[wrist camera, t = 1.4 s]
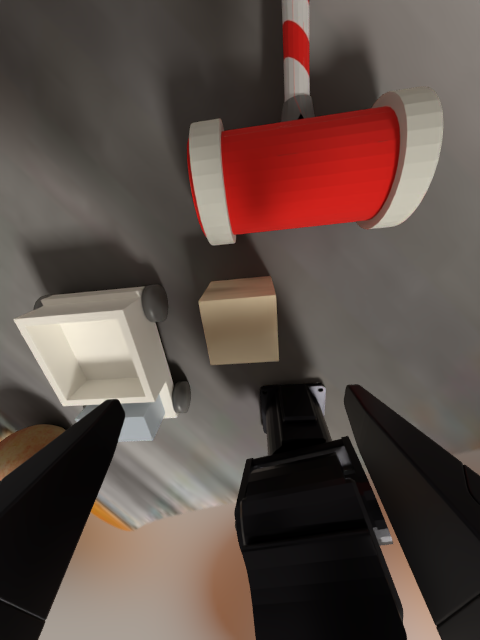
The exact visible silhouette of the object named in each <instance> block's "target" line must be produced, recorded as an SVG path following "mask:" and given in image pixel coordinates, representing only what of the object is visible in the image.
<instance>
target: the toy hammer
mask: <svg viewBox="0 0 480 640" xmlns="http://www.w3.org/2000/svg"><path fill="white" fill-rule="evenodd" d="M282 22H283V55H284V94H285V102H284V104H283V107H282V115H281V122H279V123H273V124H266V125H260V126H253V127H246V128H240V129H233V130H227V131H224V127H223V123H222V120H221V119H220V118H219V119H213V120H207V121H200V122H194V123H192V124H191V126H190V131H189V138H188V142H187V162H188V172H189V180H190V186H191V192H192V197H193V202H194V206H195V210H196V214H197V217H198V221H199V224H200V226H201V229H202V231H203V233H204V235H205V236H206V237H207V239H208V241H209V242H210V244H211V245H213V246H214V245H223V244H233V243H235V242H236V235H237V234H246V233H255V232H264V231H274V230H283V229H292V228H301V227H310V226H319V225H328V224H337V223H347V222H356V223H357V224H358V225H359V226H360V227H361V228H363V229H374V228H383V227H393V226H396V225H399V224H400V223H402V222H404V221H405V220H406V219H407V218H408V217H409V216H410V215H411V214H412V213H413V212H414V211H415V209H416V208H417V207H418V205H419V204H420V202H421V200H422V199H423V197H424V195H425V193H426V192H427V190H428V187H429V185H430V183H431V180H432V178H433V175H434V172H435V169H436V166H437V163H438V159H439V154H440V150H441V145H442V136H443V111H442V107H441V103H440V99H439V98H438V96H437V94H436V93H435V91H434V90H432V89H431V88H429V87H415V88H409V89H403V90H396V91H390V92H387V93H385V94H383V95H382V96H381V97H380V98H379V99H378V100H377V101H376V102H375V103H374V105H373V106H372V108H371V109H364V110H358V111H351V112H345V113H338V114H332V115H325V116H318V117H315V114H314V108H313V101H312V97H311V96H310V83H309V0H282Z"/></svg>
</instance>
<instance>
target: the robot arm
mask: <svg viewBox="0 0 480 640" xmlns="http://www.w3.org/2000/svg"><path fill="white" fill-rule="evenodd" d="M319 388H321V389H319ZM264 391H266V392H264ZM325 394H326V389H325V386H324V385H323V384H322V383H315V384H295V385H275V386H262V387H261V388H260V398H261V409H262V419H263V430H264V432H265V433H266V434H267V443H268V456H264V457H260V458H256V459H253V458H250V459H247V460H246V464H245V468H244V472H243V477H242V481H241V485H240V490H239V494H238V498H237V503H236V508H235V520H236V521H235V528H236V531H237V536H238V542H239V546H240V549H241V552H242V555H243V558H244V562H245V565H246V569H247V573H248V578H249V584H250V590H251V598H252V606H253V616H254V626H255V636H256V640H407V636H406V632H405V628H404V626H403V608H402V604H401V601H400V599H399V596H398V593H397V591H396V588H395V586H394V583H393V580H392V577H391V575H390V572H389V570H388V567H387V564H386V562H385V559H384V556H383V554H382V551H381V548H380V546H379V545H389V544H393V541H392V538H391V535H390V533H389V530H388V527H387V525H386V522H385V520H384V517H383V515H382V512H381V510H380V507H379V505H378V502H377V500H376V498H375V495H374V493H373V491H372V488H371V486H370V484H369V481H368V479H367V477H366V474H365V472H364V470H363V468H362V465H361V463H360V461H359V459H358V457H357V454H356V452H355V450H354V448H353V446H352V443H351V441H350V439H349V437H348V436H346V437H341V438H342V439H338V440H334V441H332V439H331V436H330V433H329V430H328V428H327V425H326V422H325V419H324V411H325ZM344 405H345V409H346V412H347V415H348V418H349V421H350V425H351V428H352V431H353V434H354V437H355V440H356V443H357V446H358V449H359V451H360V454H361V456H362V458H363V461H364V463H365V465H366V467H367V470H368V472H369V474H370V477H371V479H372V481H373V483H374V486H375V488H376V490H377V493H378V495H379V497H380V499H381V502H382V504H383V506H384V509H385V511H386V513H387V515H388V518H389V520H390V522H391V524H392V527H393V529H394V531H395V534H396V536H397V538H398V541H399V543H400V545H401V547H402V550H403V552H404V554H405V557H406V559H407V561H408V563H409V566H410V568H411V570H412V573H413V575H414V577H415V579H416V582H417V584H418V586H419V589H420V591H421V593H422V596H423V598H424V600H425V602H426V605H427V607H428V609H429V611H430V614H431V616H432V618H433V621H434V623H435V625H436V626H437V630H438V632H439V635H440V637H441V639H442V640H480V476H479V475H478V474H477V473H475V472H474V471H473V470H471V469H470V468H469V467H467V466H466V465H463V464H462V462H461V461H459V460H458V459H457V458H455V457H454V456H453V455H451V454H450V453H449V452H447V451H446V450H445V449H443V448H442V447H441V446H440V445H438V444H437V443H436V442H434V441H433V440H432V439H430V438H429V437H428V436H426V435H425V434H424V433H422V432H421V431H420V430H418V429H417V428H416V427H414V426H413V425H412V424H410V423H409V422H408V421H406V420H405V419H404V418H402V417H401V416H400V415H398V414H397V413H396V412H394V411H393V410H392V409H391V408H389V407H388V406H387V405H385V404H384V403H383V402H381V401H380V400H379V399H377V398H376V397H375V396H373V395H372V394H371V393H369V392H368V391H367V390H365V389H364V388H363V387H361V386H360V385H358V384H354V385H347V386H346V390H345V397H344ZM124 420H125V411H124V409H123V407H122V405H121V403H120V401H119V400H118V399H108V400H105V401H104V402H103V403H101V404H100V405H99V406H97V407H96V408H95V409H93V410H92V411H91V412H89V413H88V414H87V415H86V416H84V417H83V418H82V419H80V420H79V421H78V422H76V423H75V424H74V425H72V426H71V427H70V428H68V429H67V430H66V431H64V432H63V433H62V434H61V435H59V436H58V437H57V438H55V439H54V440H53V441H51V442H50V443H49V444H47V445H46V446H45V447H43V448H42V449H41V450H39V451H38V452H37V453H35V454H34V455H33V456H32V457H30V458H29V459H28V460H26V461H25V462H24V463H22V464H21V465H20V466H18V467H17V468H16V469H14V470H13V471H12V472H10V473H9V474H8V475H7V476H5V477H4V478H3V479H2V481H0V640H38V638H39V636H40V634H41V631H42V629H43V627H44V624H45V620H46V619H47V616H48V614H49V611H50V609H51V606H52V604H53V602H54V599H55V597H56V594H57V592H58V590H59V587H60V584H61V582H62V580H63V577H64V575H65V573H66V570H67V568H68V565H69V563H70V560H71V558H72V555H73V553H74V550H75V548H76V546H77V543H78V541H79V539H80V536H81V534H82V531H83V529H84V526H85V524H86V522H87V519H88V517H89V514H90V512H91V509H92V507H93V505H94V502H95V500H96V497H97V495H98V492H99V490H100V488H101V485H102V483H103V480H104V478H105V475H106V473H107V471H108V468H109V466H110V463H111V461H112V458H113V455H114V452H115V449H116V446H117V443H118V440H119V436H120V433H121V430H122V427H123V423H124Z"/></svg>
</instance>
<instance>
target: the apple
mask: <svg viewBox="0 0 480 640" xmlns="http://www.w3.org/2000/svg"><path fill="white" fill-rule="evenodd" d="M64 431H66V430H65V429H64V428H62V427H59V426H55V425H49V424H39V425H34V426H30V427H27V428H24V429H22V430H19V431H17V432H15V433H13V434H11V435H9V436H8V437H6V438H5V439H4V440H2V441H1V442H0V481H2V479H3V478H4V477H5V476H7V475H8V474H9V473H10V472H12V471H13V470H14V469H16V468H17V467H18V466H20V465H21V464H22V463H24V462H25V461H26V460H28V459H29V458H30V457H32V456H33V455H34V454H35V453H37V452H38V451H39V450H41V449H42V448H43V447H45V446H46V445H47V444H49V443H50V442H51V441H53V440H54V439H55V438H57V437H58V436H59V435H61V434H62V433H63V432H64Z"/></svg>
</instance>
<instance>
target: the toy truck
mask: <svg viewBox="0 0 480 640" xmlns="http://www.w3.org/2000/svg"><path fill="white" fill-rule="evenodd" d="M167 314H168V300H167V296H166V293H165V290H164V289H163V287H162V286H161V285H148V286H146V287H145V286H143V287H133V288H122V289H112V290H101V291H91V292H80V293H70V294H54V295H45V296H42V297H40V298H39V299H38V300H37V301H36V303H35V305H34V310H33V311H31V312H29V313H26V314H24V315H22V316H20V317H17V318H15V319H13V320H14V321H15V323H16V325H17V327H18V328H19V330H20V332H21V334H22V335H23V337H24V339H25V341H26V342H27V344H28V346H29V348H30V349H31V351H32V353H33V355H34V356H35V358H36V360H37V362H38V363H39V365H40V367H41V369H42V370H43V372H44V374H45V376H46V377H47V379H48V381H49V382H50V384H51V386H52V388H53V389H54V391H55V393H56V395H57V396H58V398H59V400H60V402H61V403H62V405H63V406H77V405H83V410H82V412H81V413H80V414H79V415H78V416H77V417H76V418H75V421H76V422H78V421H79V420H80V419H82V418H83V417H84V416H86V415H87V414H88V413H89V412H91V411H92V410H93V409H95V408H96V407H97V406H99V405H100V404H101V403H103V402H104V401H105V400H108V399H118V400H119V401H120V403H121V405H122V407H123V409H124V411H125V420H124V423H123V427H122V430H121V433H120V436H119V440H118V442H120V441H153V440H154V437H155V435H156V433H157V431H158V428H159V426H160V424H161V422H162V419H163V418H177V416H178V414H179V413H186V412H187V411H188V409H189V406H190V400H191V391H190V386H189V383H188V382H187V381H181V382H177V383H176V384H175V386H174V384H173V381H172V377H171V374H170V371H169V367H168V364H167V360H166V357H165V353H164V350H163V347H162V343H161V340H160V336H159V333H158V329H157V326H156V323H155V322H161V321H164V320H165V319H166V317H167Z"/></svg>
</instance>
